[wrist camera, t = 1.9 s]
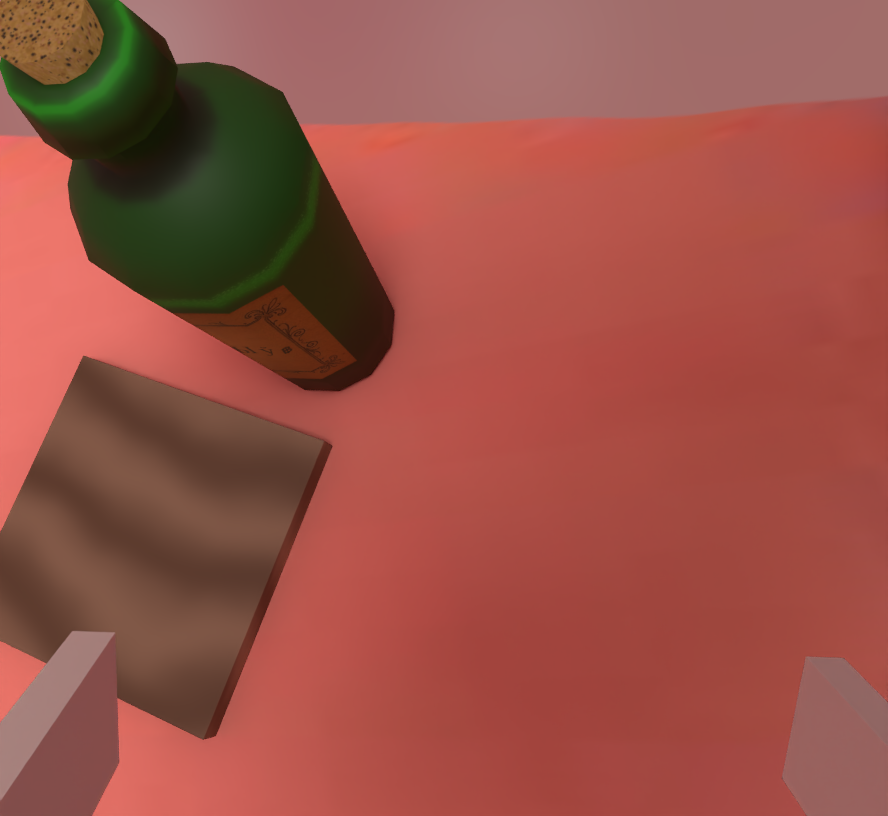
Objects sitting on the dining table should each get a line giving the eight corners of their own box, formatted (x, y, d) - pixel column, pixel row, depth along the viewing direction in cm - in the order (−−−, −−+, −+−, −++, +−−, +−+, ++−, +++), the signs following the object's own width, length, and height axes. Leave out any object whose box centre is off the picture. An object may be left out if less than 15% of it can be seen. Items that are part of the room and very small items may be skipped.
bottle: (223, 328, 52) (-168, 33, 26) (344, 222, 53) (82, -179, 26) (318, 445, 49) (-18, 244, 22) (447, 331, 49) (266, -1, 23)
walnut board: (97, 362, 54) (83, 355, 52) (332, 446, 49) (324, 440, 47) (-23, 620, 51) (-41, 620, 49) (215, 735, 46) (203, 739, 44)
